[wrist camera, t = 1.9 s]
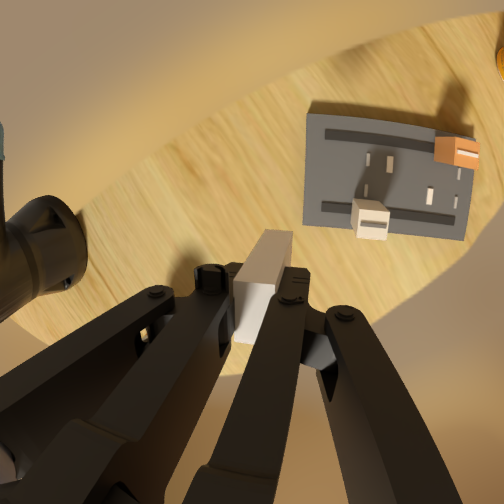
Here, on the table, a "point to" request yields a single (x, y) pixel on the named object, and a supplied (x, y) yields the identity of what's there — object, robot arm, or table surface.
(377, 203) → the cream fader
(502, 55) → the beer can
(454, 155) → the orange fader
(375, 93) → the table surface
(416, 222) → the console
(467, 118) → the table surface
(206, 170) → the table surface
